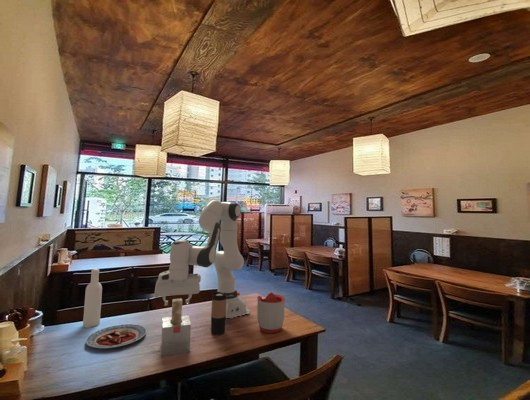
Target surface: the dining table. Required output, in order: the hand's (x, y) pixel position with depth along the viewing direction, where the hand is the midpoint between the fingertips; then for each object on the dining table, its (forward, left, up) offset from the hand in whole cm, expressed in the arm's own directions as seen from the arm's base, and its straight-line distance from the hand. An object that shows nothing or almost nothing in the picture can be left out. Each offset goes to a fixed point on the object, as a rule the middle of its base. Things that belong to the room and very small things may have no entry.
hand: (176, 304), depth 122 cm
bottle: (+42, -41, -20) cm, 62 cm away
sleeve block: (0, 0, -20) cm, 20 cm away
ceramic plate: (+26, -18, -20) cm, 37 cm away
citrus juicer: (-50, -6, -20) cm, 54 cm away
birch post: (0, 0, -18) cm, 18 cm away
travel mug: (-22, -10, -20) cm, 31 cm away
